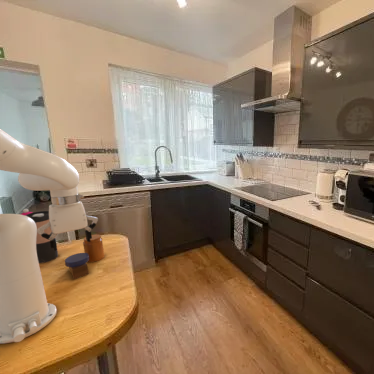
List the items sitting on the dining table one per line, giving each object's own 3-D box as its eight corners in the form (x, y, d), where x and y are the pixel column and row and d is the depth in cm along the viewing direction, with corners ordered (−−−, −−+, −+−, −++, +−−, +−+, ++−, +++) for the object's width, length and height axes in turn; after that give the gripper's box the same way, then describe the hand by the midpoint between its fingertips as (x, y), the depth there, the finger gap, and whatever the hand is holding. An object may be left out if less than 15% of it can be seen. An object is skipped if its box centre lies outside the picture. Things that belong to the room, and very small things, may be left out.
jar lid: (64, 262, 82) (63, 257, 82) (86, 255, 87) (85, 250, 87) (67, 269, 77) (66, 264, 77) (91, 261, 83) (90, 257, 82)
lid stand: (88, 274, 82) (87, 264, 81) (74, 279, 78) (72, 269, 78) (83, 264, 87) (81, 255, 87) (69, 269, 84) (67, 260, 83)
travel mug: (41, 255, 94) (32, 211, 90) (62, 252, 96) (54, 210, 92) (29, 264, 87) (19, 217, 83) (53, 261, 89) (43, 216, 85)
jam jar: (106, 257, 93) (103, 237, 91) (88, 264, 88) (84, 242, 86) (102, 252, 97) (99, 232, 95) (84, 258, 92) (80, 237, 90)
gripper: (92, 194, 85) (97, 235, 88) (30, 202, 73) (39, 249, 76) (97, 197, 80) (102, 240, 84) (32, 206, 68) (41, 257, 71)
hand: (72, 244), depth 80 cm, fingers open, 9 cm apart
